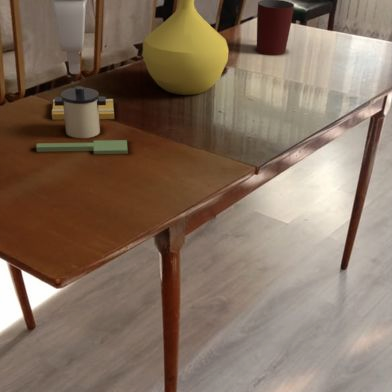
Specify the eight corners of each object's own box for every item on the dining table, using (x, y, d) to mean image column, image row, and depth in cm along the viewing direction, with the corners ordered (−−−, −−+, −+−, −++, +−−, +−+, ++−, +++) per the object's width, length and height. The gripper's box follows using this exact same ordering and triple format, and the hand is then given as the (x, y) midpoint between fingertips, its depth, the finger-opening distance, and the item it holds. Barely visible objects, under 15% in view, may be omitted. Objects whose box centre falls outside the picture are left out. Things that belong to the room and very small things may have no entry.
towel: (52, 120, 122) (51, 112, 121) (54, 105, 128) (53, 98, 127) (114, 119, 124) (113, 112, 123) (113, 104, 130) (112, 97, 129)
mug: (261, 41, 168) (266, -5, 161) (293, 46, 166) (299, -1, 159) (249, 53, 159) (254, 5, 152) (283, 58, 157) (289, 10, 150)
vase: (126, 84, 139) (123, -14, 127) (189, 69, 149) (191, -23, 136) (179, 108, 129) (181, 5, 117) (243, 91, 138) (251, -7, 126)
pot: (57, 139, 115) (52, 94, 110) (59, 125, 120) (54, 81, 115) (107, 139, 116) (105, 94, 111) (107, 124, 122) (104, 81, 116)
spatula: (36, 155, 110) (35, 150, 109) (37, 145, 113) (37, 140, 113) (127, 154, 112) (127, 148, 111) (126, 144, 115) (126, 138, 114)
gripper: (52, -39, 109) (59, 46, 118) (45, -13, 93) (54, 83, 102) (89, -38, 109) (93, 47, 118) (88, -12, 94) (93, 83, 103)
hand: (75, 64), depth 110 cm, fingers open, 8 cm apart
